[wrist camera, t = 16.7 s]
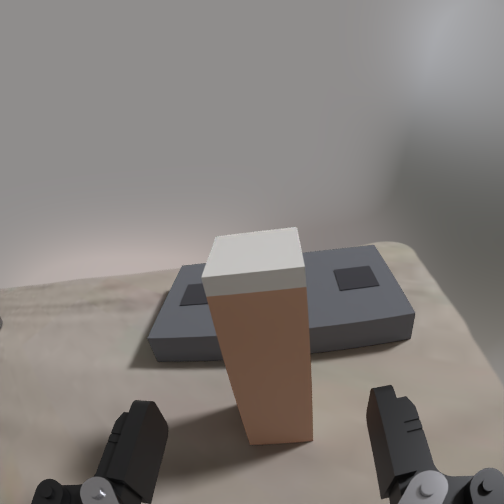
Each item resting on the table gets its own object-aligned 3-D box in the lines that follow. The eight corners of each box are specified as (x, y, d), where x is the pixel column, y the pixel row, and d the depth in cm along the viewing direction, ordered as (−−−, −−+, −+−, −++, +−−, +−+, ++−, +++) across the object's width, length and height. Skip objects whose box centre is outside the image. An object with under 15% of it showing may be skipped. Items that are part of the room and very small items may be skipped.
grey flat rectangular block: (157, 361, 29) (146, 337, 28) (187, 285, 42) (181, 265, 40) (410, 338, 26) (415, 311, 25) (373, 266, 39) (374, 244, 38)
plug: (250, 445, 20) (201, 277, 14) (253, 399, 24) (216, 236, 18) (312, 440, 19) (304, 266, 13) (308, 394, 23) (296, 226, 17)
